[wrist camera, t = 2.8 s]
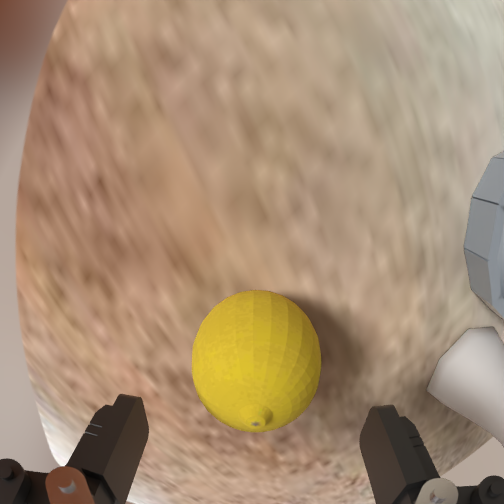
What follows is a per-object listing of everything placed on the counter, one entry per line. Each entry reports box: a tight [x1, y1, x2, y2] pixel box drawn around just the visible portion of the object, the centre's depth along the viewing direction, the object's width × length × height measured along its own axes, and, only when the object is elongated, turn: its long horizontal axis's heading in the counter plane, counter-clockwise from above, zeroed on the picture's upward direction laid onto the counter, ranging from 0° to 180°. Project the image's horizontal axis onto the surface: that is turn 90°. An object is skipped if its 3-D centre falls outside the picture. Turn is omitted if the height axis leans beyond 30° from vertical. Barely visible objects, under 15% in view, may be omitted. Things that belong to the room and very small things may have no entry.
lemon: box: [192, 290, 321, 432], centre depth 13 cm, size 6×6×8 cm
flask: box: [426, 327, 504, 447], centre depth 13 cm, size 7×7×10 cm
